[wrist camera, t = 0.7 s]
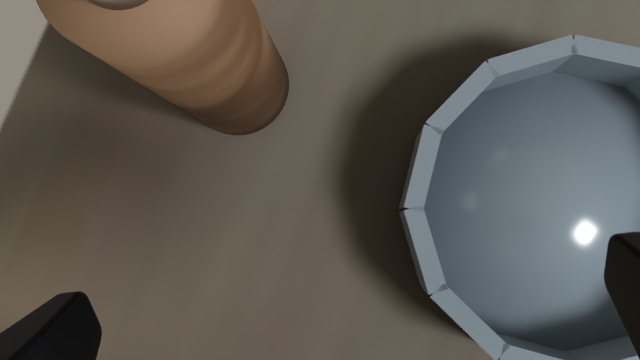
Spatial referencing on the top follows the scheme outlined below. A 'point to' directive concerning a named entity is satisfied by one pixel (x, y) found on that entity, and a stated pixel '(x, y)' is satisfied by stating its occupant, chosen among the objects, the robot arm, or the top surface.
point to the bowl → (530, 199)
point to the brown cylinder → (185, 54)
